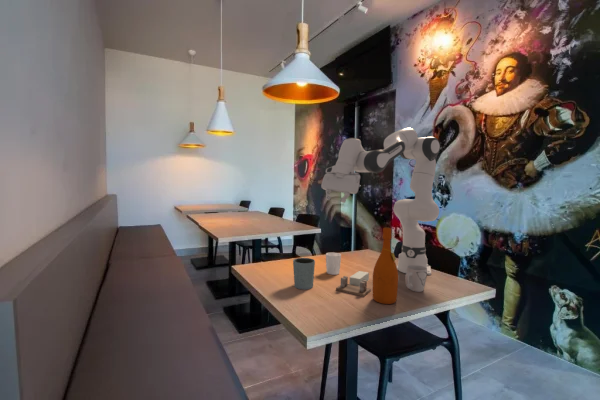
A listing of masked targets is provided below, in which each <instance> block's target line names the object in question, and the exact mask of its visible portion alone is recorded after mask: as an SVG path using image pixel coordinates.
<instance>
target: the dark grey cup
mask: <svg viewBox="0 0 600 400" xmlns="http://www.w3.org/2000/svg"><path fill="white" fill-rule="evenodd" d="M292 265H293V269H292V270H293V281H294V282H293V283H294V284H293V285H294V288H295V289H298V290H311V289H313V288H314V282H315V281H314V280H315V276H314V275H315V265H316V260H315V259H314V258H310V257H309V258H308V257H297V258H294V259H292Z"/></svg>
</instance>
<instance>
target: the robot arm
mask: <svg viewBox="0 0 600 400" xmlns="http://www.w3.org/2000/svg"><path fill="white" fill-rule="evenodd" d="M440 151H441V143H440V141H439V139H438V138H436V137H434V136H427V137H426V136H424V137H418V132H417V131H416V130H415V129H414V128H411V127H406V128H403V129H401V128H400V129H399V130H397V131H395V132H392V133H390V134H389V135H388V136H386V137H385V139H384V140H383V149H373V150H369V151H366V149H364V147H363V146H362V141H361V139H359V138H355V137H349V138H345V139H344V140H343V141H342V144H341V146H340V149H339V152H338V158H337V160H336V162H335V165H332V166H330V167H326V168H325V174H324V175H323V178H322V181H321V185H320V186H321V189H323V190H325V200H326V201H330V200H331V198H332V196H331V193H332V192H336V193H343V194H344V196H343V197H340V203H343V204H344V203H346V202H347V199H348V198H349V197H350V195H352V194H353V195H356V194H357V193H358V192H359V189H360V181H361V174H360V173H373V174H374V173H376V174H378V173H381V172H383V171H384V170H385V169H386V168H387V166H388V165H389V164H390V163H391V162H392V161H394V159H396V158H398V157H399V156H400V157H401V158H402V159H405V160H415V165H414V168H413V172H412V175H411V180H410V183H409V188H410V190H411V191H412V192H413V193H414V199H410V198H403V199H399V200H396V201H395V203H394V205H393V213H394V215H395V216H396V217H397V218H398V219H399V221H400V224H401V228H402V245H401V253H399V254H398V258H397V259H398V261H397V265H396V267H397V270H398V272H401V273H403V274H405V275H406V274H407V266H409V265H418V266H423V267H426V268H427V275H429V276H431V275H432V268H431V267H432V266H431V265H429V264H428V258H427V254H426V251H427V249H426V244H425V243H426V232H425V230H424V229H423V228H422V226H420V223H419V222H423V223H424V222H426V223H427V222H433V221H436V220H437V219H438V217H439V215H440V208H439V205H438V204H437V203H436V202H435V200H434V198H433V191H432V189H433V184H434V180H435V175H436V170H437V169H436V168H437V161H436V158H437V156H438V155H439V152H440Z"/></svg>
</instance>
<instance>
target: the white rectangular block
mask: <svg viewBox="0 0 600 400" xmlns="http://www.w3.org/2000/svg"><path fill="white" fill-rule="evenodd" d="M369 277H370V272H368V271H362V270H359V271H357V272H355V273H354V274H352V275H350V276H349V283H348V284H351V285H355V286H360V282H362V280H366V281H367V282H369V280H370V278H369Z"/></svg>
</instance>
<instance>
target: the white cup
mask: <svg viewBox="0 0 600 400" xmlns="http://www.w3.org/2000/svg"><path fill="white" fill-rule="evenodd" d="M341 261H342V254H341V253H340V252H334V251H333V252H326V253H325V268H326V274H328V275H332V276H334V275H335V276H336V275H339V274H340V272H341V271H340V270H341Z"/></svg>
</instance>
